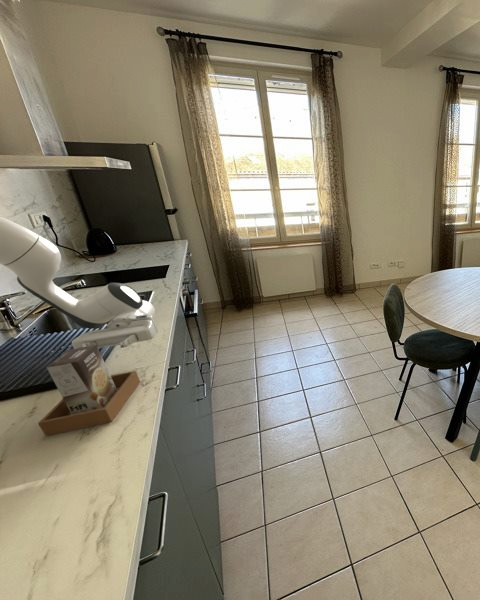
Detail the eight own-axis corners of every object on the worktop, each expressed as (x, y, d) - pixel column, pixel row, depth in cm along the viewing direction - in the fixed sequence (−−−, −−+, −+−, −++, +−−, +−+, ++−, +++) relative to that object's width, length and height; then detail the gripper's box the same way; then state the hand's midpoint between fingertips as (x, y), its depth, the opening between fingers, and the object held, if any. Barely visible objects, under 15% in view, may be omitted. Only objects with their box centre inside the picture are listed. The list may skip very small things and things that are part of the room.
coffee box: (103, 414, 85) (76, 361, 79) (73, 420, 83) (44, 367, 77) (119, 393, 93) (96, 344, 87) (93, 398, 92) (67, 348, 85)
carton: (45, 436, 79) (37, 423, 77) (86, 392, 94) (80, 381, 93) (111, 421, 82) (105, 409, 81) (140, 381, 98) (135, 370, 96)
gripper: (83, 325, 103) (55, 346, 91) (157, 314, 108) (139, 332, 96) (91, 342, 106) (65, 365, 93) (163, 331, 111) (147, 351, 98)
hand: (103, 348), depth 95 cm, fingers open, 8 cm apart
